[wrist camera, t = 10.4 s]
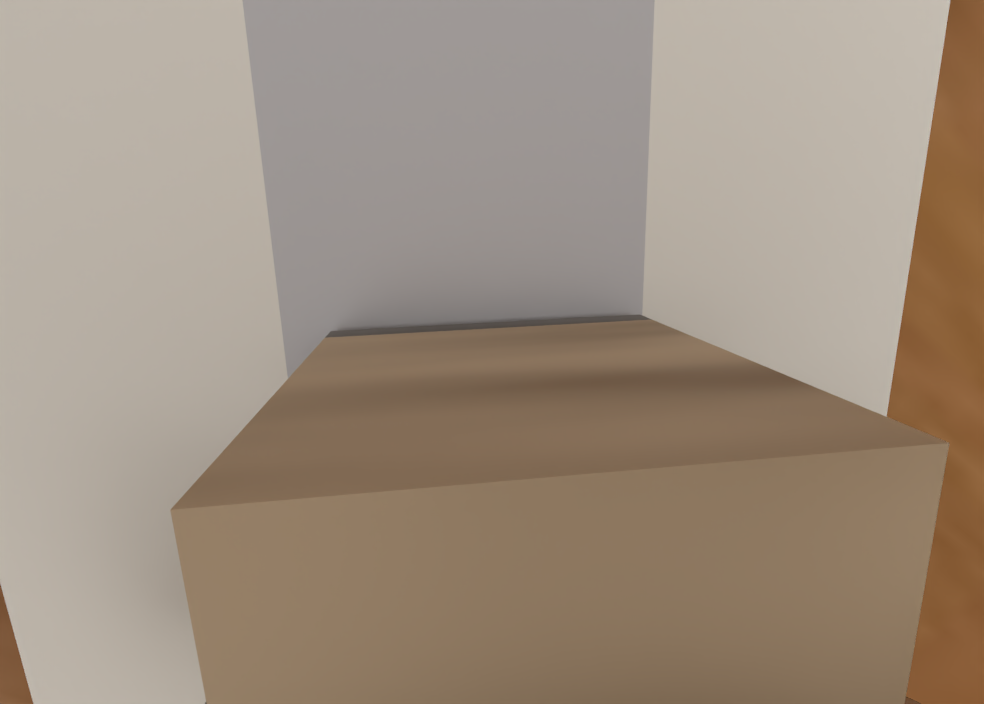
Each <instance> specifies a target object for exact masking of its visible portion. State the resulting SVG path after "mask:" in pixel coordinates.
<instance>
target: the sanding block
mask: <svg viewBox="0 0 984 704" xmlns="http://www.w3.org/2000/svg"><path fill="white" fill-rule="evenodd" d="M948 447H949V443H948V442H946V441H944V440H941V439H939V438H936V437H934V436H932V435H929V434H927V433H924V432H922V431H920V430H917V429H915V428H912V427H910V426H907V425H905V424H903V423H900V422H898V421H895V420H893V419H891V418H888V417H886V416H883V415H881V414H879V413H876V412H874V411H871V410H869V409H866V408H864V407H862V406H859V405H857V404H854V403H852V402H850V401H847V400H845V399H842V398H840V397H838V396H835V395H833V394H830V393H828V392H825V391H823V390H821V389H818V388H816V387H813V386H811V385H809V384H806V383H804V382H801V381H799V380H797V379H794V378H792V377H789V376H787V375H785V374H782V373H780V372H777V371H775V370H772V369H770V368H768V367H765V366H763V365H760V364H758V363H756V362H753V361H751V360H748V359H746V358H744V357H741V356H739V355H736V354H734V353H731V352H729V351H727V350H724V349H722V348H719V347H717V346H715V345H712V344H710V343H707V342H705V341H703V340H700V339H698V338H695V337H693V336H690V335H688V334H686V333H683V332H681V331H678V330H676V329H674V328H671V327H669V326H666V325H664V324H662V323H659V322H657V321H654V320H652V319H649V318H647V317H645V316H642V315H640V314H639V315H621V316H602V317H584V318H565V319H547V320H528V321H510V322H492V323H473V324H455V325H436V326H418V327H399V328H381V329H362V330H344V331H330V332H329V334H328V335H327V336H326V337H325V338H324V339H323V340H322V341H321V343H320V344H319V345H318V346H317V347H316V348H315V349H314V350H313V351H312V353H311V354H310V355H309V356H308V357H307V358H306V359H305V360H304V361H303V363H302V364H301V365H300V366H299V367H298V368H297V369H296V370H295V371H294V373H293V374H292V375H291V376H290V377H289V378H288V379H287V380H286V381H285V383H284V384H283V385H282V386H281V387H280V388H279V389H278V390H277V392H276V393H275V394H274V395H273V396H272V397H271V398H270V399H269V400H268V402H267V403H266V404H265V405H264V406H263V407H262V408H261V409H260V410H259V412H258V413H257V414H256V415H255V416H254V417H253V418H252V419H251V420H250V422H249V423H248V424H247V425H246V426H245V427H244V428H243V429H242V431H241V432H240V433H239V434H238V435H237V436H236V437H235V438H234V439H233V441H232V442H231V443H230V444H229V445H228V446H227V447H226V448H225V449H224V451H223V452H222V453H221V454H220V455H219V456H218V457H217V458H216V459H215V461H214V462H213V463H212V464H211V465H210V466H209V467H208V468H207V469H206V471H205V472H204V473H203V474H202V475H201V476H200V477H199V478H198V480H197V481H196V482H195V483H194V484H193V485H192V486H191V487H190V488H189V490H188V491H187V492H186V493H185V494H184V495H183V496H182V497H181V498H180V500H179V501H178V502H177V503H176V504H175V505H174V506H173V507H172V508H171V510H170V511H171V517H172V522H173V527H174V533H175V538H176V543H177V549H178V554H179V559H180V565H181V570H182V575H183V581H184V586H185V591H186V597H187V602H188V607H189V613H190V618H191V623H192V629H193V634H194V639H195V645H196V650H197V655H198V661H199V666H200V671H201V677H202V682H203V687H204V693H205V698H206V703H207V704H905V698H906V692H907V686H908V680H909V674H910V669H911V663H912V657H913V651H914V645H915V640H916V634H917V628H918V622H919V616H920V610H921V605H922V599H923V593H924V587H925V581H926V575H927V570H928V564H929V558H930V552H931V546H932V541H933V535H934V529H935V523H936V517H937V511H938V506H939V500H940V494H941V488H942V482H943V477H944V471H945V465H946V459H947V453H948Z"/></svg>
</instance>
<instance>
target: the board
mask: <svg viewBox="0 0 984 704" xmlns="http://www.w3.org/2000/svg"><path fill="white" fill-rule="evenodd" d="M949 6H950V0H0V584H1V588H2V591H3V595H4V599H5V602H6V606H7V609H8V613H9V617H10V620H11V624H12V628H13V631H14V635H15V638H16V642H17V646H18V649H19V653H20V657H21V660H22V664H23V668H24V671H25V675H26V678H27V682H28V686H29V689H30V693H31V697H32V700H33V704H205V703H206V698H205V693H204V687H203V682H202V677H201V671H200V666H199V661H198V655H197V650H196V645H195V639H194V634H193V629H192V623H191V618H190V613H189V607H188V602H187V597H186V591H185V586H184V581H183V575H182V570H181V565H180V559H179V554H178V549H177V543H176V538H175V533H174V527H173V522H172V517H171V511H170V510H171V508H172V507H173V506H174V505H175V504H176V503H177V502H178V501H179V500H180V498H181V497H182V496H183V495H184V494H185V493H186V492H187V491H188V490H189V488H190V487H191V486H192V485H193V484H194V483H195V482H196V481H197V480H198V478H199V477H200V476H201V475H202V474H203V473H204V472H205V471H206V469H207V468H208V467H209V466H210V465H211V464H212V463H213V462H214V461H215V459H216V458H217V457H218V456H219V455H220V454H221V453H222V452H223V451H224V449H225V448H226V447H227V446H228V445H229V444H230V443H231V442H232V441H233V439H234V438H235V437H236V436H237V435H238V434H239V433H240V432H241V431H242V429H243V428H244V427H245V426H246V425H247V424H248V423H249V422H250V420H251V419H252V418H253V417H254V416H255V415H256V414H257V413H258V412H259V410H260V409H261V408H262V407H263V406H264V405H265V404H266V403H267V402H268V400H269V399H270V398H271V397H272V396H273V395H274V394H275V393H276V392H277V390H278V389H279V388H280V387H281V386H282V385H283V384H284V383H285V381H286V380H287V379H288V378H289V377H290V376H291V375H292V374H293V373H294V371H295V370H296V369H297V368H298V367H299V366H300V365H301V364H302V363H303V361H304V360H305V359H306V358H307V357H308V356H309V355H310V354H311V353H312V351H313V350H314V349H315V348H316V347H317V346H318V345H319V344H320V343H321V341H322V340H323V339H324V338H325V337H326V336H327V335H328V334H329V332H330V331H344V330H362V329H381V328H399V327H418V326H436V325H455V324H473V323H492V322H510V321H528V320H547V319H565V318H584V317H602V316H621V315H639V314H640V315H642V316H645V317H647V318H649V319H652V320H654V321H657V322H659V323H662V324H664V325H666V326H669V327H671V328H674V329H676V330H678V331H681V332H683V333H686V334H688V335H690V336H693V337H695V338H698V339H700V340H703V341H705V342H707V343H710V344H712V345H715V346H717V347H719V348H722V349H724V350H727V351H729V352H731V353H734V354H736V355H739V356H741V357H744V358H746V359H748V360H751V361H753V362H756V363H758V364H760V365H763V366H765V367H768V368H770V369H772V370H775V371H777V372H780V373H782V374H785V375H787V376H789V377H792V378H794V379H797V380H799V381H801V382H804V383H806V384H809V385H811V386H813V387H816V388H818V389H821V390H823V391H825V392H828V393H830V394H833V395H835V396H838V397H840V398H842V399H845V400H847V401H850V402H852V403H854V404H857V405H859V406H862V407H864V408H866V409H869V410H871V411H874V412H876V413H879V414H881V415H883V416H887V410H888V403H889V397H890V390H891V384H892V377H893V371H894V364H895V358H896V351H897V345H898V338H899V332H900V325H901V319H902V312H903V306H904V299H905V293H906V286H907V280H908V273H909V267H910V260H911V254H912V247H913V241H914V234H915V228H916V221H917V215H918V208H919V202H920V195H921V189H922V182H923V176H924V169H925V163H926V156H927V149H928V143H929V136H930V130H931V123H932V117H933V110H934V104H935V97H936V91H937V84H938V78H939V71H940V65H941V58H942V52H943V45H944V39H945V32H946V26H947V19H948V13H949Z"/></svg>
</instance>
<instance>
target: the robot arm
mask: <svg viewBox="0 0 984 704" xmlns="http://www.w3.org/2000/svg"><path fill="white" fill-rule="evenodd" d="M205 704H207V703H205ZM905 704H921V703H919V702H917V701H915V700H913V699H911V698H908V697H906V698H905Z"/></svg>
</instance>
